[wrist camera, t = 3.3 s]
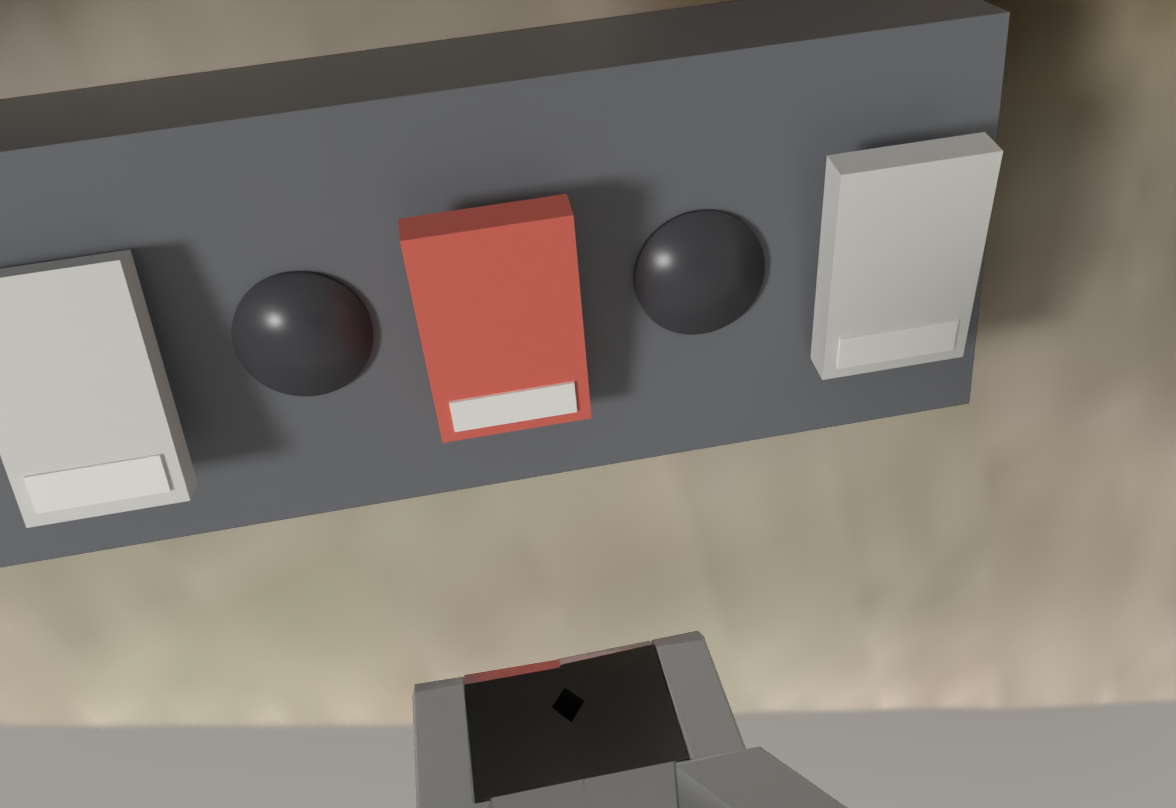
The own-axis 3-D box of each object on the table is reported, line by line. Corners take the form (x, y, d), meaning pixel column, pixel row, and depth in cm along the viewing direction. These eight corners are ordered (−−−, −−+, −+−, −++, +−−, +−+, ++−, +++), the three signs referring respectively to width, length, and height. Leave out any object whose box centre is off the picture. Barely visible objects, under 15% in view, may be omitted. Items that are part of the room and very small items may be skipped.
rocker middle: (566, 193, 21) (574, 217, 20) (585, 394, 24) (592, 420, 23) (397, 218, 21) (400, 243, 20) (439, 418, 24) (442, 445, 23)
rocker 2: (984, 131, 21) (1005, 152, 21) (947, 335, 25) (964, 358, 24) (826, 155, 21) (842, 176, 21) (810, 357, 24) (823, 382, 24)
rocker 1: (130, 249, 21) (118, 260, 20) (197, 483, 23) (189, 502, 22) (-44, 275, 21) (-63, 287, 20) (39, 509, 22) (25, 529, 22)
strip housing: (924, -25, 25) (1014, 13, 21) (902, 327, 29) (972, 406, 26) (-237, 131, 23) (-351, 203, 19) (-60, 483, 27) (-126, 593, 24)
